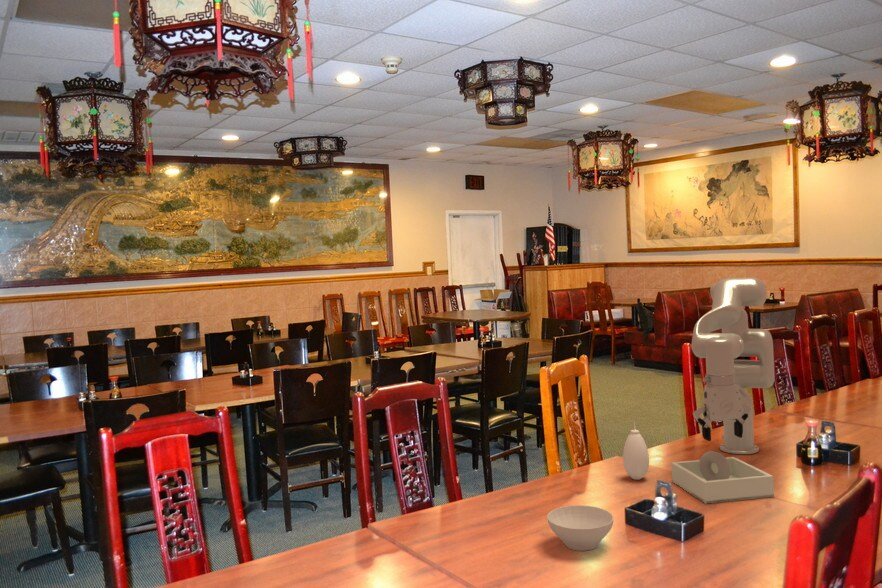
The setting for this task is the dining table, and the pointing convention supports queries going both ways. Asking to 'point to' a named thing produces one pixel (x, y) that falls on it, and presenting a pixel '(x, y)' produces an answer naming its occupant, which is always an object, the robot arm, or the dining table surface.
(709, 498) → the bin
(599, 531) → the bowl
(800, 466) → the dining table surface
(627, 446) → the sauce bottle
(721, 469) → the donut
